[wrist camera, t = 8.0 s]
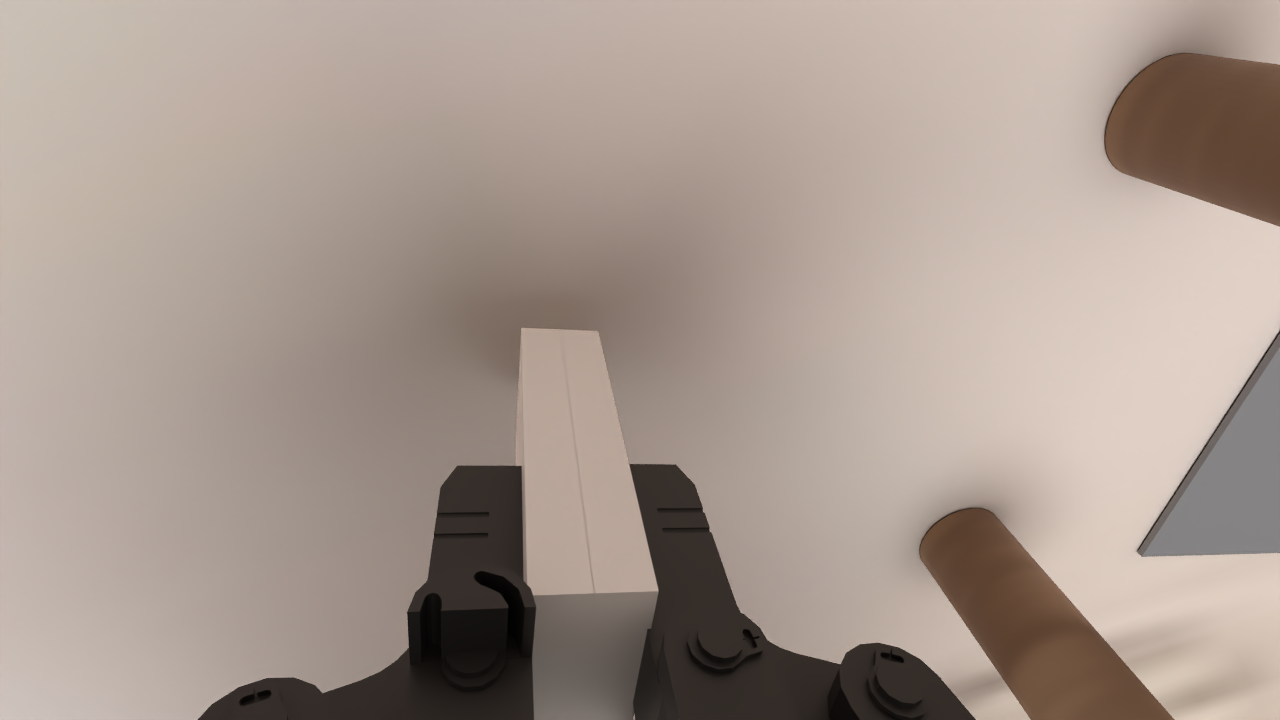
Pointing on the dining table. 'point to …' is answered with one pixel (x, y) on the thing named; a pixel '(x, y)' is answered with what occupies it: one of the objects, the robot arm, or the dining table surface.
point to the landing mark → (1231, 480)
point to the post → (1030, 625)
